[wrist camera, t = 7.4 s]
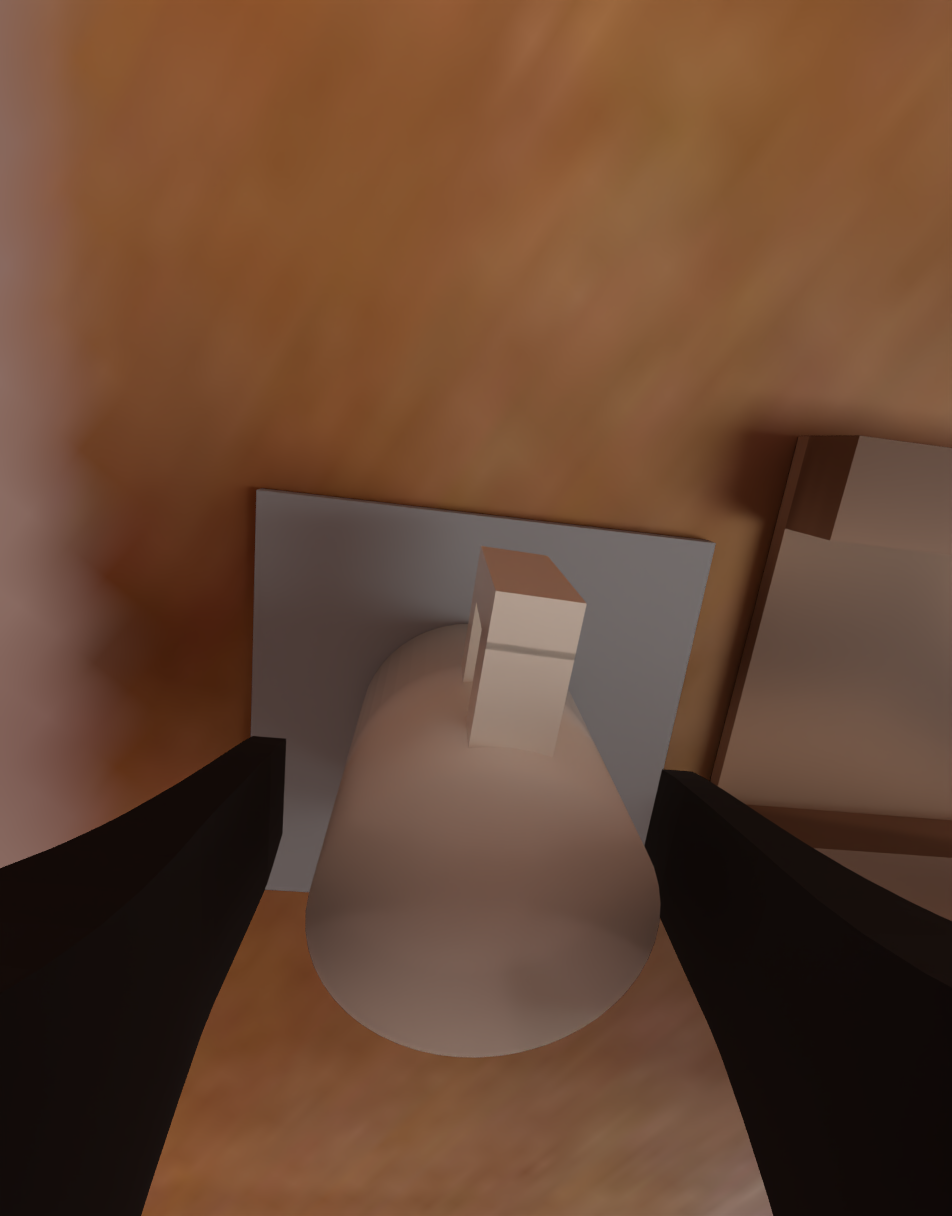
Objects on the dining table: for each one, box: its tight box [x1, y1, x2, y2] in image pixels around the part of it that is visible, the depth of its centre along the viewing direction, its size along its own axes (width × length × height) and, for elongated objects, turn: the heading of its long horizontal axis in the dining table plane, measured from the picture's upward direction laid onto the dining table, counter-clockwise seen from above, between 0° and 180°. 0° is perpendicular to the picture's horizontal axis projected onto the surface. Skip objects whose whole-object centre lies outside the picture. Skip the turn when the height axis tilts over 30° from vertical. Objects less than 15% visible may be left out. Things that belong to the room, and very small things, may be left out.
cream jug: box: [306, 546, 660, 1057], centre depth 11 cm, size 7×5×6 cm
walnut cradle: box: [710, 436, 952, 921], centre depth 14 cm, size 11×9×2 cm
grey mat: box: [251, 488, 716, 892], centre depth 14 cm, size 10×10×1 cm
